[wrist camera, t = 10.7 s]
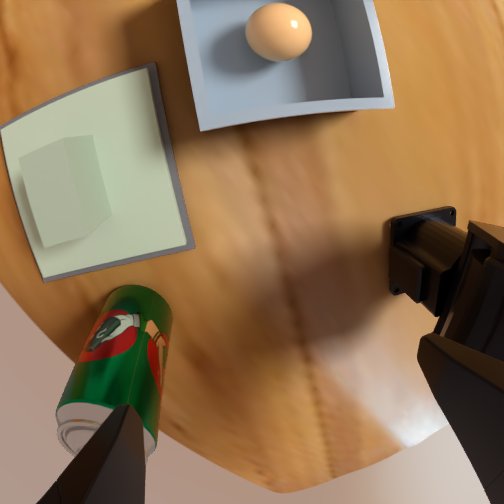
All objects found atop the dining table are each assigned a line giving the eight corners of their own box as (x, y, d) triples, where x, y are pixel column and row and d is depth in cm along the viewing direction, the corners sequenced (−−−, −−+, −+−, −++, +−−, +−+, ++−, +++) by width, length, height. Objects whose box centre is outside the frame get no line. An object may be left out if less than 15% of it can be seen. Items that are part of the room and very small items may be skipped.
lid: (148, 69, 15) (129, 51, 11) (186, 241, 19) (180, 273, 15) (5, 129, 15) (-36, 134, 10) (47, 274, 19) (17, 306, 15)
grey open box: (329, -21, 14) (356, -49, 10) (358, 110, 18) (394, 108, 14) (177, -10, 13) (169, -43, 9) (203, 131, 17) (200, 131, 13)
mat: (156, 63, 15) (154, 61, 15) (195, 246, 20) (195, 248, 20) (2, 126, 15) (-1, 126, 14) (46, 279, 19) (44, 282, 19)
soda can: (96, 315, 21) (40, 443, 10) (127, 267, 20) (64, 401, 9) (151, 349, 23) (128, 484, 12) (186, 307, 22) (176, 454, 11)
